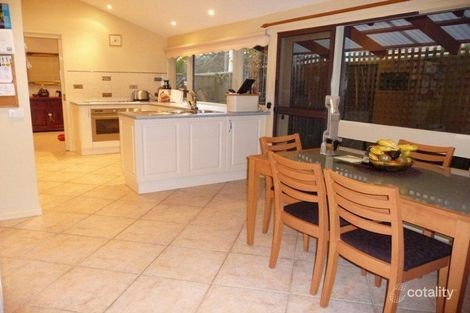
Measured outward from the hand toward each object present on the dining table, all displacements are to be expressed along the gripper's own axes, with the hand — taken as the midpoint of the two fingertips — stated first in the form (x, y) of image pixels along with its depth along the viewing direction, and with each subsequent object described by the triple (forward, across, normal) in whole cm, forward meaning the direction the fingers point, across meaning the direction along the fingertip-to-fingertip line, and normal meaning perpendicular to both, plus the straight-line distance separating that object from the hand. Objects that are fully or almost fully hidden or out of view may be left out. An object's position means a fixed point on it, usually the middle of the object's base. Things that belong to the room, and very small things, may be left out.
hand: (332, 150), depth 244 cm
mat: (+7, +4, +15) cm, 17 cm away
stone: (+7, +21, +16) cm, 27 cm away
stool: (+2, 0, 0) cm, 2 cm away
